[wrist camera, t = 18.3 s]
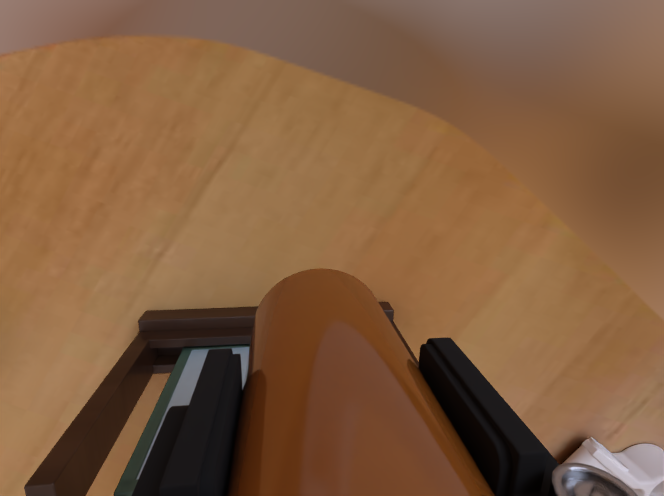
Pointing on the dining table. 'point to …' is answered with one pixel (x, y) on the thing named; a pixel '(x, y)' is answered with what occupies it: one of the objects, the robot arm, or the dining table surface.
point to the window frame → (138, 390)
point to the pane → (172, 395)
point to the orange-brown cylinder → (340, 402)
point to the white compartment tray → (626, 465)
